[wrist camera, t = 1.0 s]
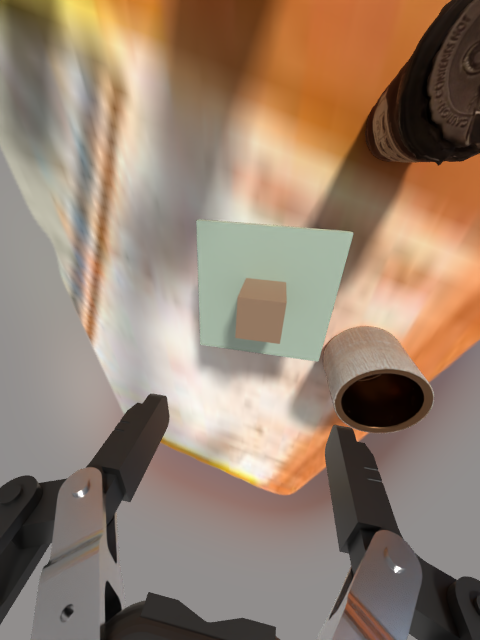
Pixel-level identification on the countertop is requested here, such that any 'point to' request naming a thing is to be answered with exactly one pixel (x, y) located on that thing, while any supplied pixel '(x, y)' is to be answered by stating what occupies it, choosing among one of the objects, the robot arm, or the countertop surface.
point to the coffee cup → (434, 95)
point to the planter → (375, 381)
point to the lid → (268, 286)
